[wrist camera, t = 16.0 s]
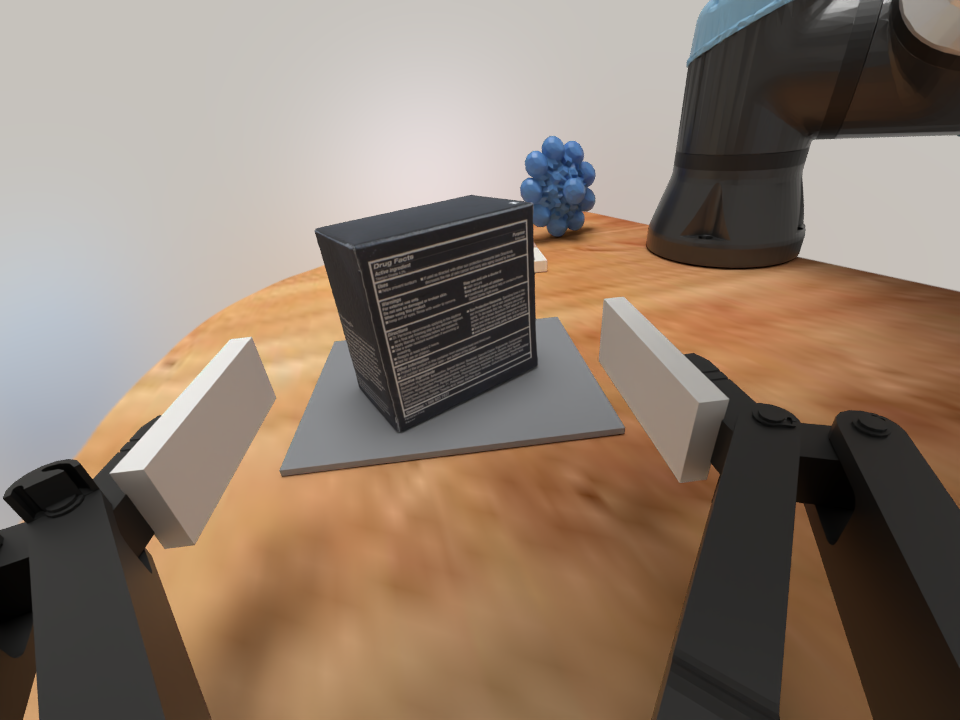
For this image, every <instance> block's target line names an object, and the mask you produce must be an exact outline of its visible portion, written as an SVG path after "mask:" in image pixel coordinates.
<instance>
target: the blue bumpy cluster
mask: <svg viewBox="0 0 960 720" xmlns="http://www.w3.org/2000/svg"><path fill="white" fill-rule="evenodd" d="M583 157H584V153H583V149H582V148H581V146H580V144H578V143H577V142H575V141H569V142H567V143H566V144H565V145H563V143H562V141H561V140H560V139H559V138H557V137H556V136H549V137H548V138H547V139H546V140H545V141H544V143H543V145H542V153H541V152H539V151H533V152H531V153H530V154H528V156H527V158H526V160H525V166H526V171H527V172H528V174H529V175H530V176H531V177H533V178H527V179H526V180H524V181H523V183H522V185H521V187H520V189H521V196H522V198H523V200H524V201H526V202H532V203H533V207H534V213H533V224H534V225H536V226H537V227H545V226H546V225H547V230H548V232H549V233H550V234H551V235H553V236H555V237H560V236H562V235H564V234H565V232H566V230H567V228H569V229H570V230H578V229H580V228H581V227H582V226H583V224H584V220H585V219H584V214H583V212H582V211H589V210H591V209H592V208H593V206H594V204H595V195H594V193H593V192H592V190H590V189H589V188H587V187H588V186H590V185H592V183H593V181H594V179H595V170H594V168H593V167H592V165H591V164H590V163H588V162H582V161H583Z"/></svg>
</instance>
